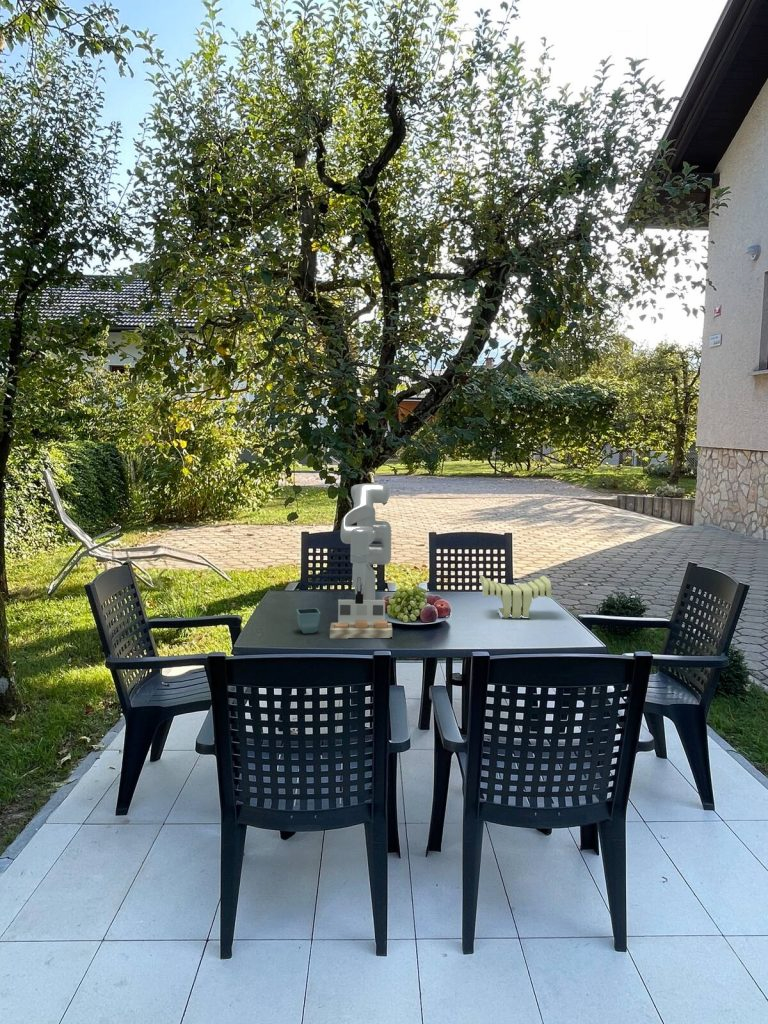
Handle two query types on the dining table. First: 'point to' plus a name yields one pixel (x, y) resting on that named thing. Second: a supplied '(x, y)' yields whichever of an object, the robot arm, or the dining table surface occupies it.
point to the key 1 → (341, 625)
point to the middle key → (360, 623)
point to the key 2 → (380, 623)
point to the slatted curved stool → (516, 594)
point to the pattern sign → (361, 611)
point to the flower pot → (308, 620)
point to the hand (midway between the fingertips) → (359, 603)
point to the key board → (361, 631)
